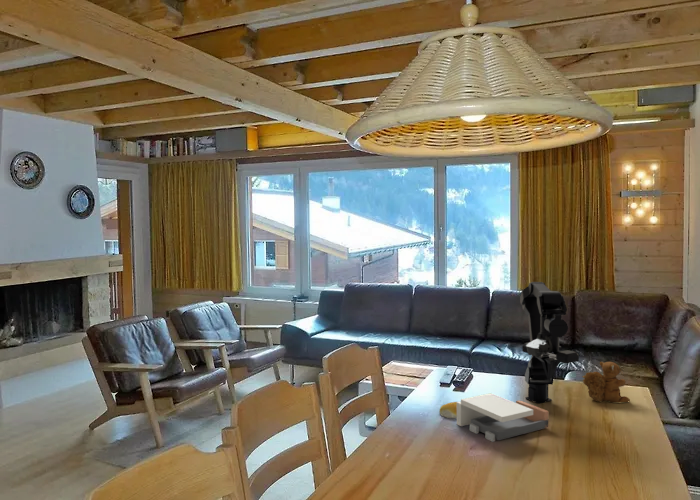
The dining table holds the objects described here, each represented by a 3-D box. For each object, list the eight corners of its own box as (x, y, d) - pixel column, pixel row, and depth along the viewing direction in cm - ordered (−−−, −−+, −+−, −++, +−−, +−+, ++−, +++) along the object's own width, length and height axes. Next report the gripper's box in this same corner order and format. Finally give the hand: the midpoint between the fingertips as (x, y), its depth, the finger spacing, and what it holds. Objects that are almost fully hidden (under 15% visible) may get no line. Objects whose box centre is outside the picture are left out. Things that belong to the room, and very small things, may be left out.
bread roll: (471, 413, 190) (471, 401, 190) (456, 421, 184) (456, 408, 183) (450, 408, 196) (450, 396, 196) (435, 415, 189) (434, 403, 189)
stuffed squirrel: (632, 403, 199) (633, 365, 198) (594, 405, 196) (595, 367, 196) (614, 394, 209) (615, 358, 208) (578, 396, 206) (579, 360, 205)
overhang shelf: (486, 417, 186) (486, 391, 185) (533, 438, 168) (533, 409, 168) (456, 424, 180) (456, 397, 180) (502, 446, 163) (502, 417, 162)
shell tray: (519, 415, 186) (519, 400, 186) (548, 427, 176) (548, 411, 175) (470, 426, 177) (470, 410, 176) (498, 440, 166) (498, 423, 166)
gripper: (510, 328, 191) (510, 374, 192) (554, 338, 174) (554, 389, 175) (534, 324, 196) (534, 370, 197) (580, 334, 180) (579, 384, 181)
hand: (549, 378), depth 187 cm, fingers closed
